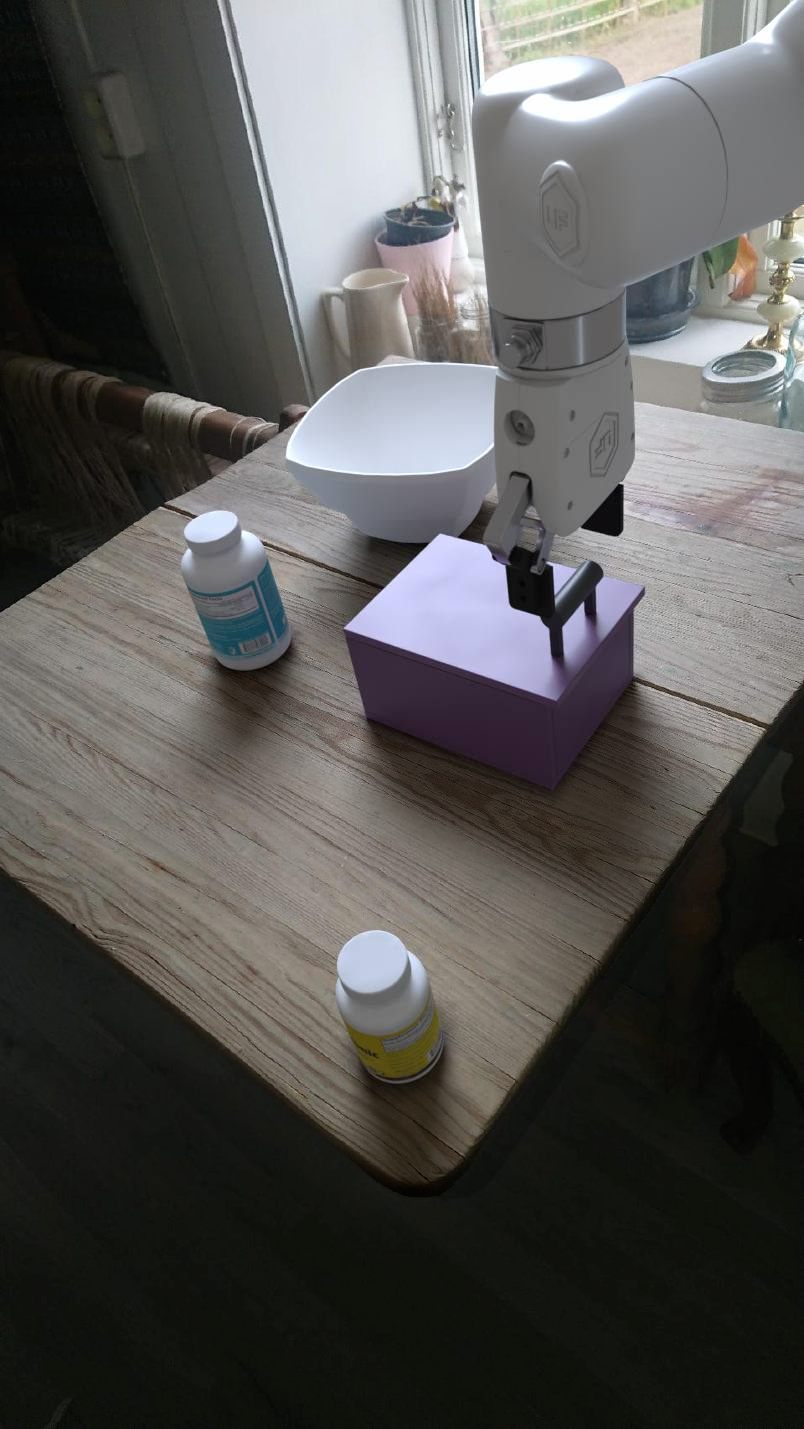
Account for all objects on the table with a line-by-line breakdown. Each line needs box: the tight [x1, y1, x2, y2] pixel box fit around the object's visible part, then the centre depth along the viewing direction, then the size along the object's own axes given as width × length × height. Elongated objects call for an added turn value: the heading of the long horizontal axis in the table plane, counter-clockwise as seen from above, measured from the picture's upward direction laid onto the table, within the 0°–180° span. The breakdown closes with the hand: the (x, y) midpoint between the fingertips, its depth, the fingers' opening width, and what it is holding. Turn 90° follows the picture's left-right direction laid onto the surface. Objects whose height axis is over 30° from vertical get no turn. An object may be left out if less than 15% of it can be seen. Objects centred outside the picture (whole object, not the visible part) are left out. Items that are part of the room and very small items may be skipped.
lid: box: [342, 534, 646, 709], centre depth 72 cm, size 18×14×5 cm
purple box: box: [345, 609, 635, 791], centre depth 77 cm, size 18×14×9 cm
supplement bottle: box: [335, 930, 445, 1085], centre depth 57 cm, size 5×5×10 cm
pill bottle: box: [180, 510, 292, 671], centre depth 86 cm, size 8×7×14 cm
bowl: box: [284, 362, 498, 544], centre depth 97 cm, size 22×22×12 cm
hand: (568, 569), depth 67 cm, fingers open, 9 cm apart
